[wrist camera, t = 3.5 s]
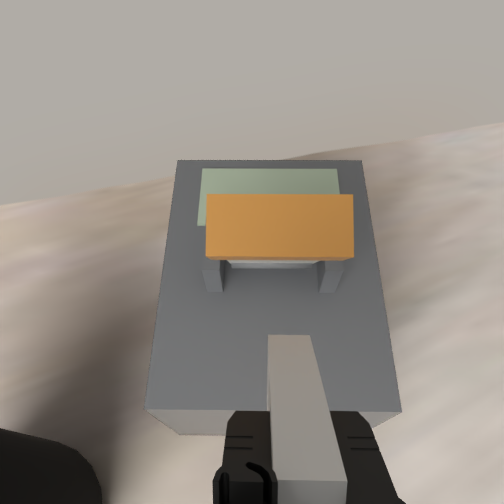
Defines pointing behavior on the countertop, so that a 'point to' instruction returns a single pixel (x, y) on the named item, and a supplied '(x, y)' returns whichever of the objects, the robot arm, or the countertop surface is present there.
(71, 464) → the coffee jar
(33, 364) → the countertop surface
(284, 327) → the box
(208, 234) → the lever
